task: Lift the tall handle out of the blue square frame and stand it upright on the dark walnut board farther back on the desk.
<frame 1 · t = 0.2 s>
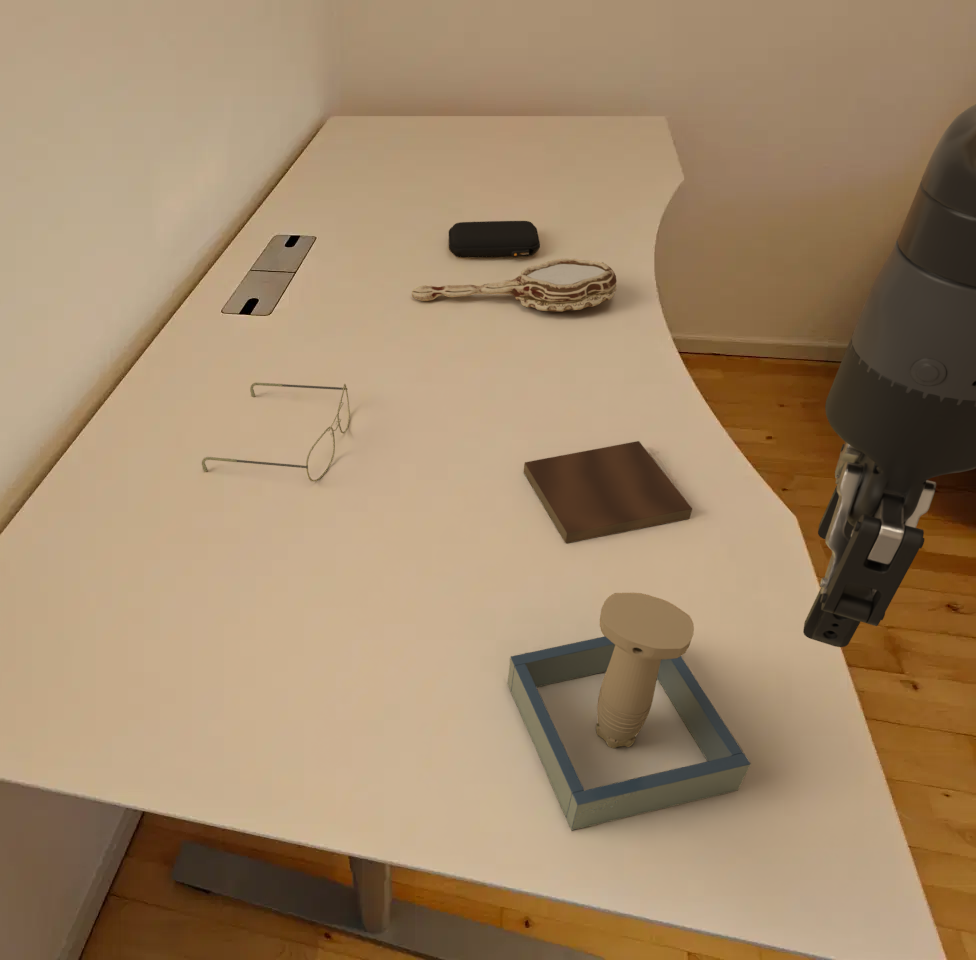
hand: (830, 585, 49), 26 cm above the table, tool pointing down, fingers open, 8 cm apart
handle: (615, 735, 71), resting in blue square frame
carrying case: (492, 250, 140), on the table
hand mirror: (510, 302, 127), on the table
board: (603, 494, 93), on the table
blue square frame: (615, 733, 71), on the table
eyeglasses: (283, 440, 104), on the table
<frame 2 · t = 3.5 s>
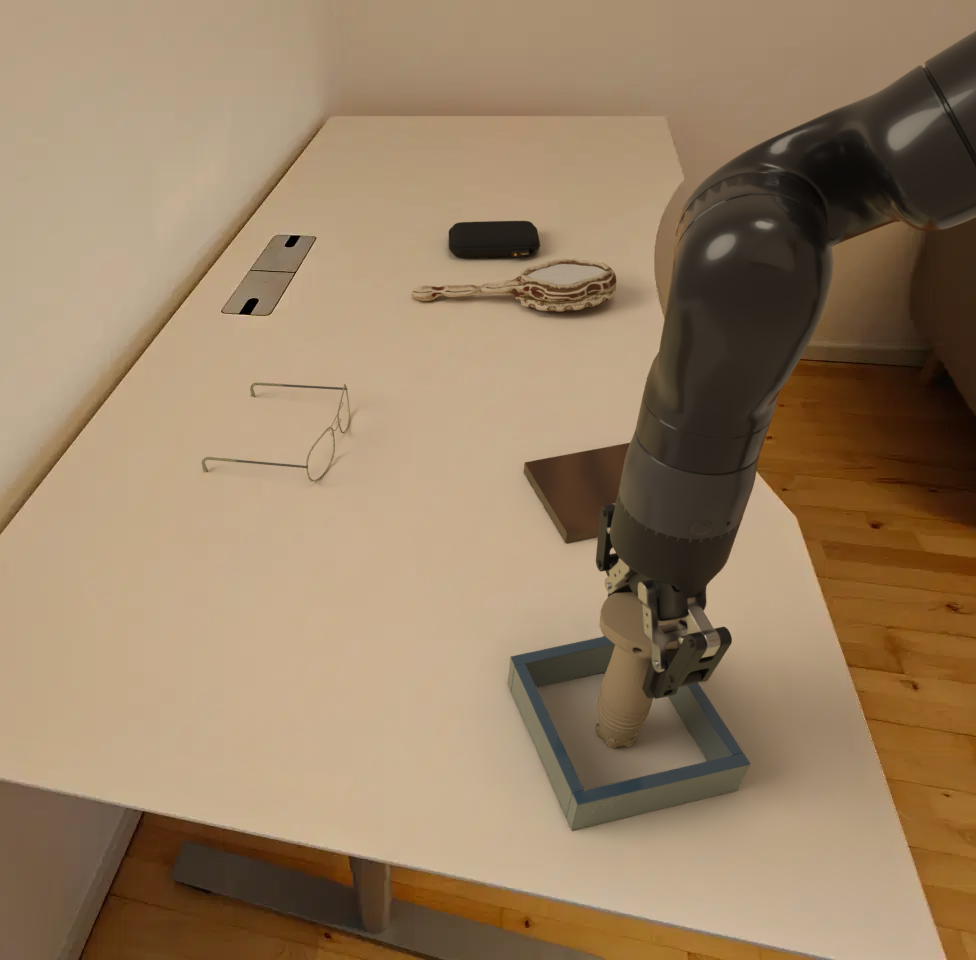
hand: (636, 656, 64), 11 cm above the table, tool pointing down, fingers closed on handle, 6 cm apart
handle: (615, 735, 71), resting in blue square frame, touching gripper
everything else where it was.
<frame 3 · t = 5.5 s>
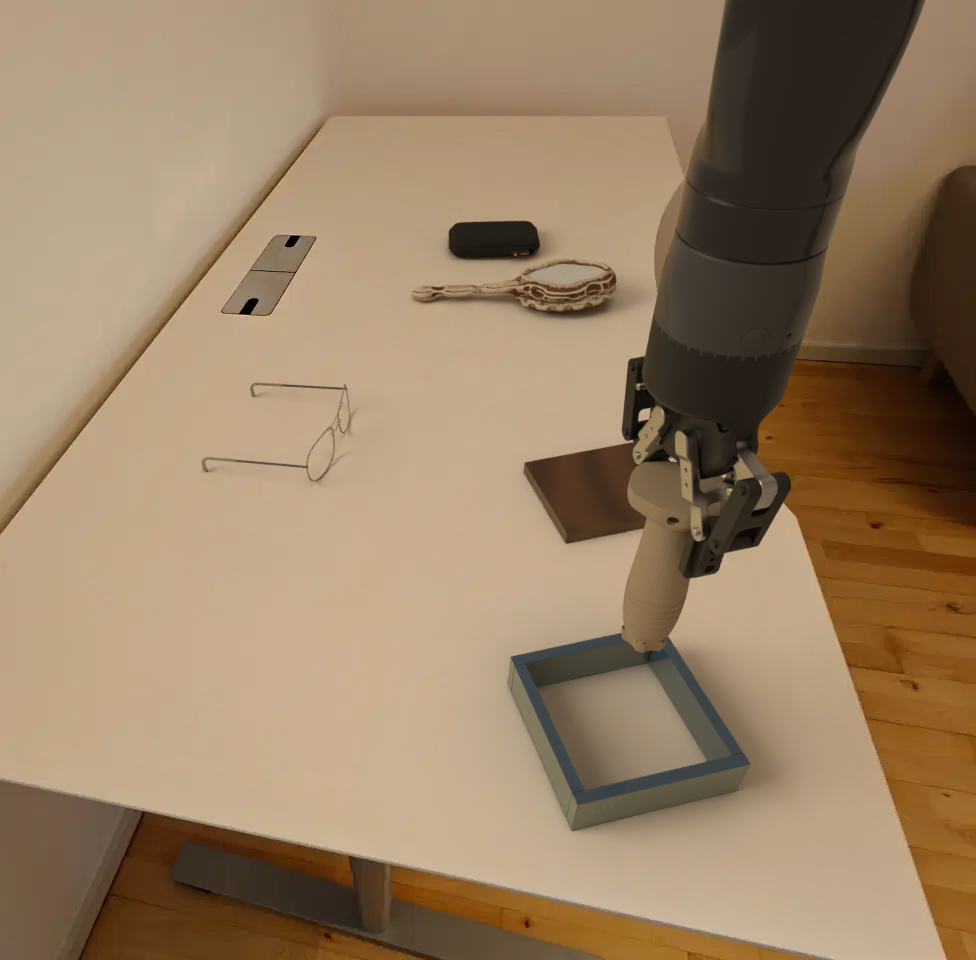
hand: (669, 537, 55), 23 cm above the table, tool pointing down, fingers closed on handle, 6 cm apart
handle: (642, 640, 62), point 13 cm above the table, touching gripper
everything else where it was.
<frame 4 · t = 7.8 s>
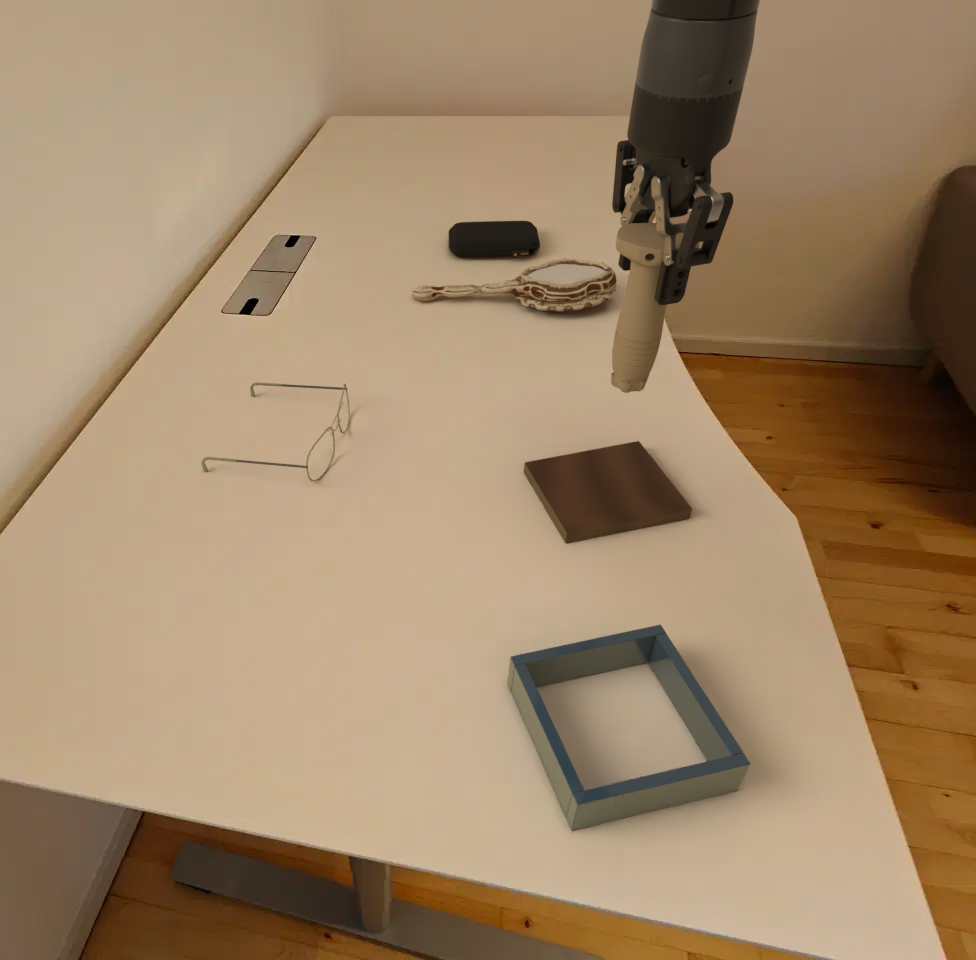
hand: (648, 283, 72), 28 cm above the table, tool pointing down, fingers closed on handle, 6 cm apart
handle: (627, 386, 80), point 17 cm above the table, touching gripper
everything else where it was.
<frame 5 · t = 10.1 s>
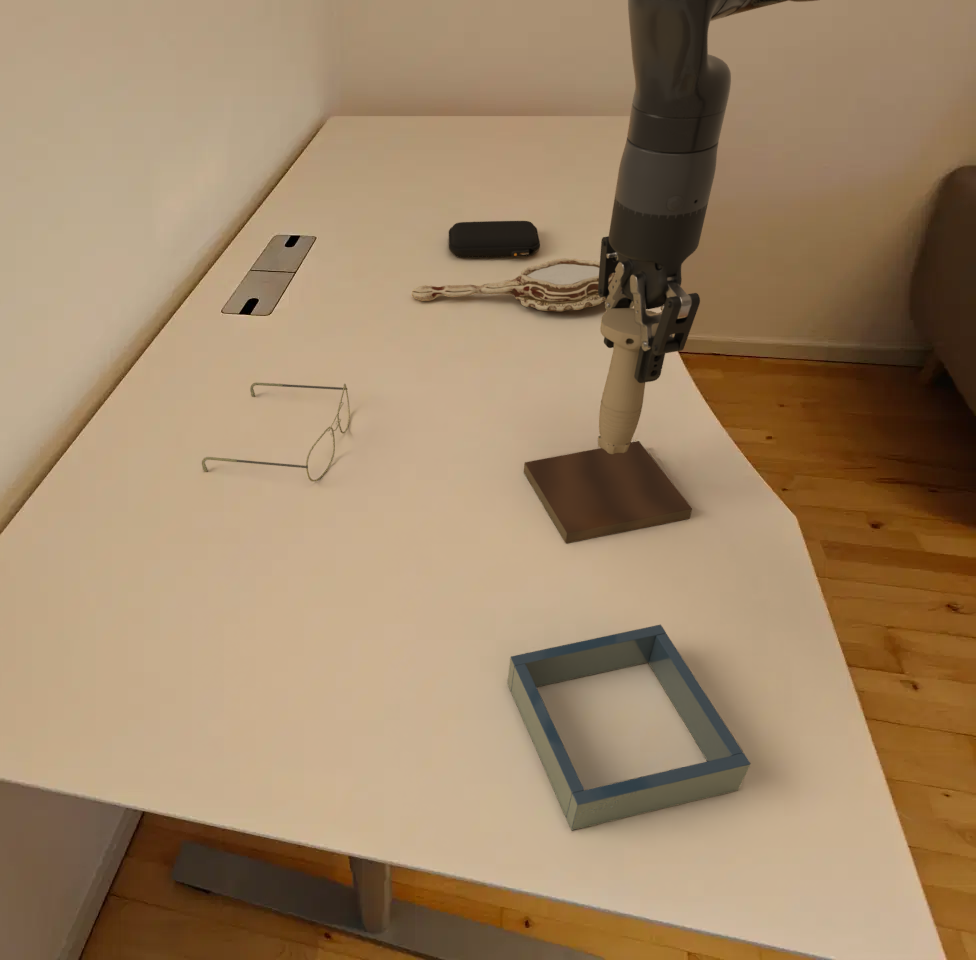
hand: (629, 361, 81), 18 cm above the table, tool pointing down, fingers closed on handle, 6 cm apart
handle: (613, 447, 88), point 7 cm above the table, touching gripper
everything else where it was.
when the fingers open (12 cm above the table, at t = 11.9 s): handle stays where it is, resting on board.
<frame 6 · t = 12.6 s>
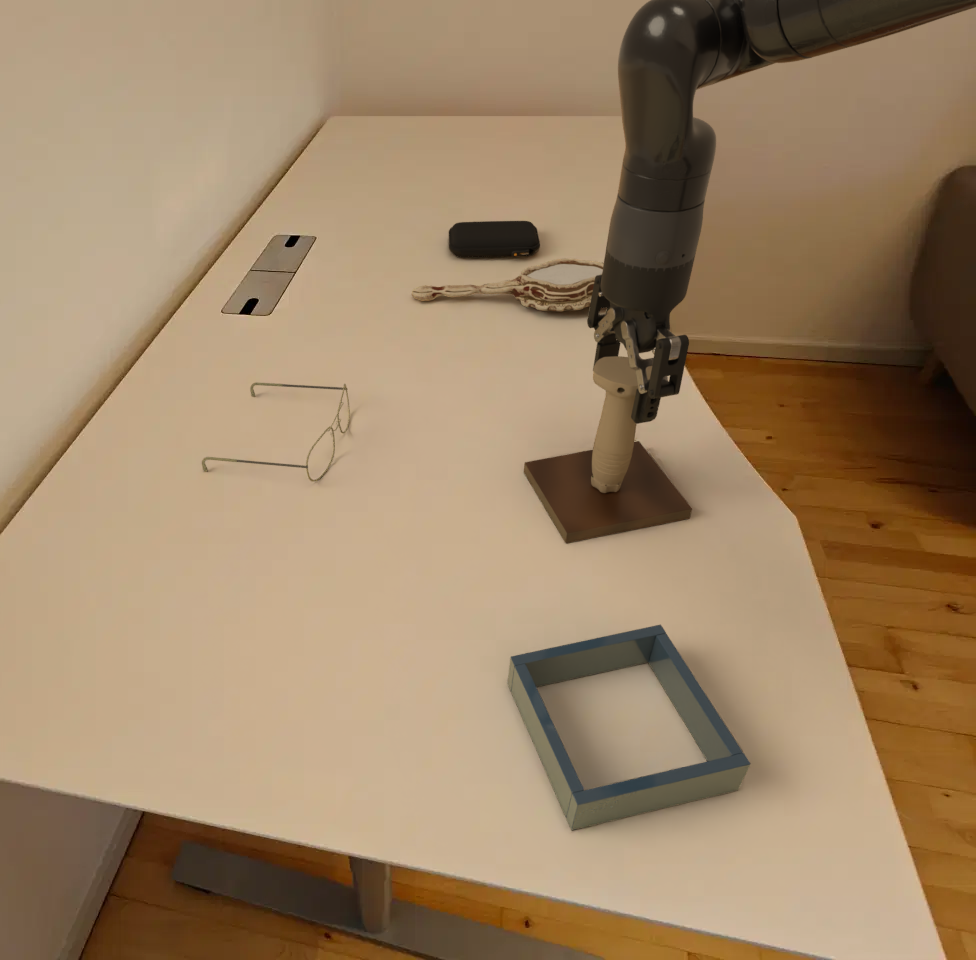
hand: (622, 396, 84), 13 cm above the table, tool pointing down, fingers open, 8 cm apart
handle: (605, 486, 92), point 1 cm above the table, touching board
everything else where it was.
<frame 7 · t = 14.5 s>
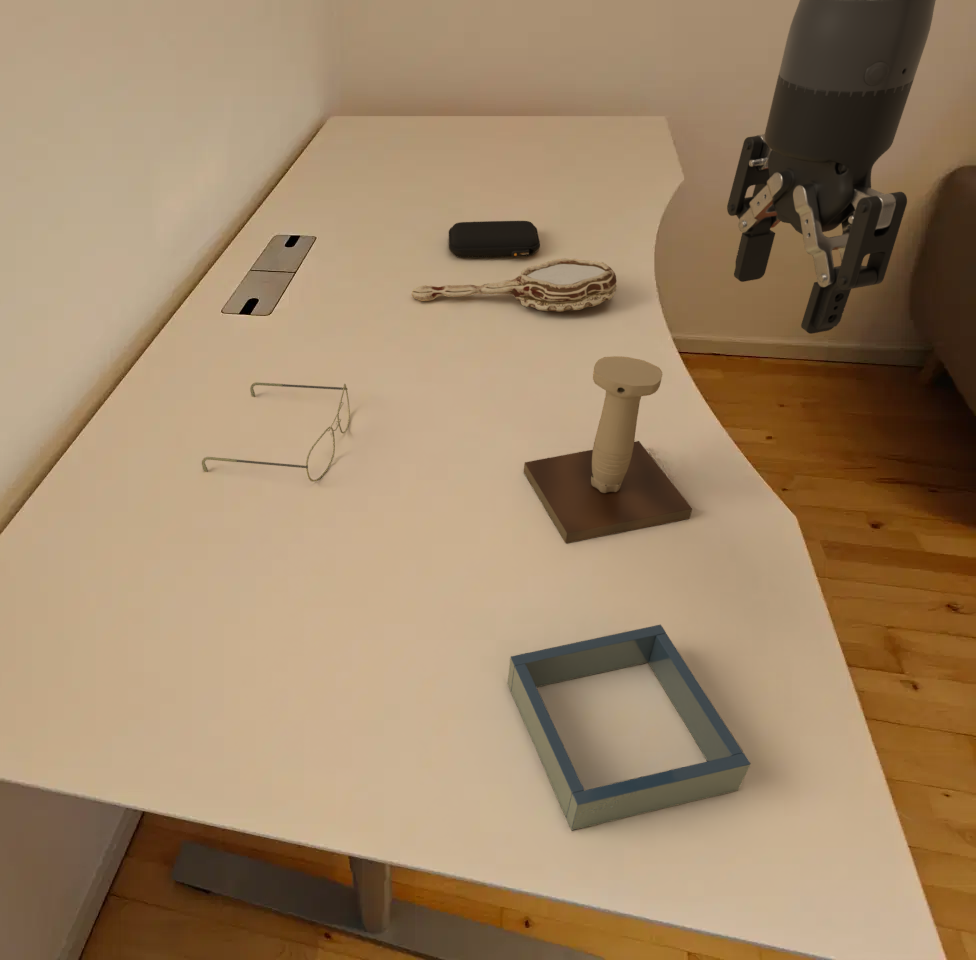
hand: (780, 302, 63), 31 cm above the table, tool pointing down, fingers open, 8 cm apart
nothing on the table moved.
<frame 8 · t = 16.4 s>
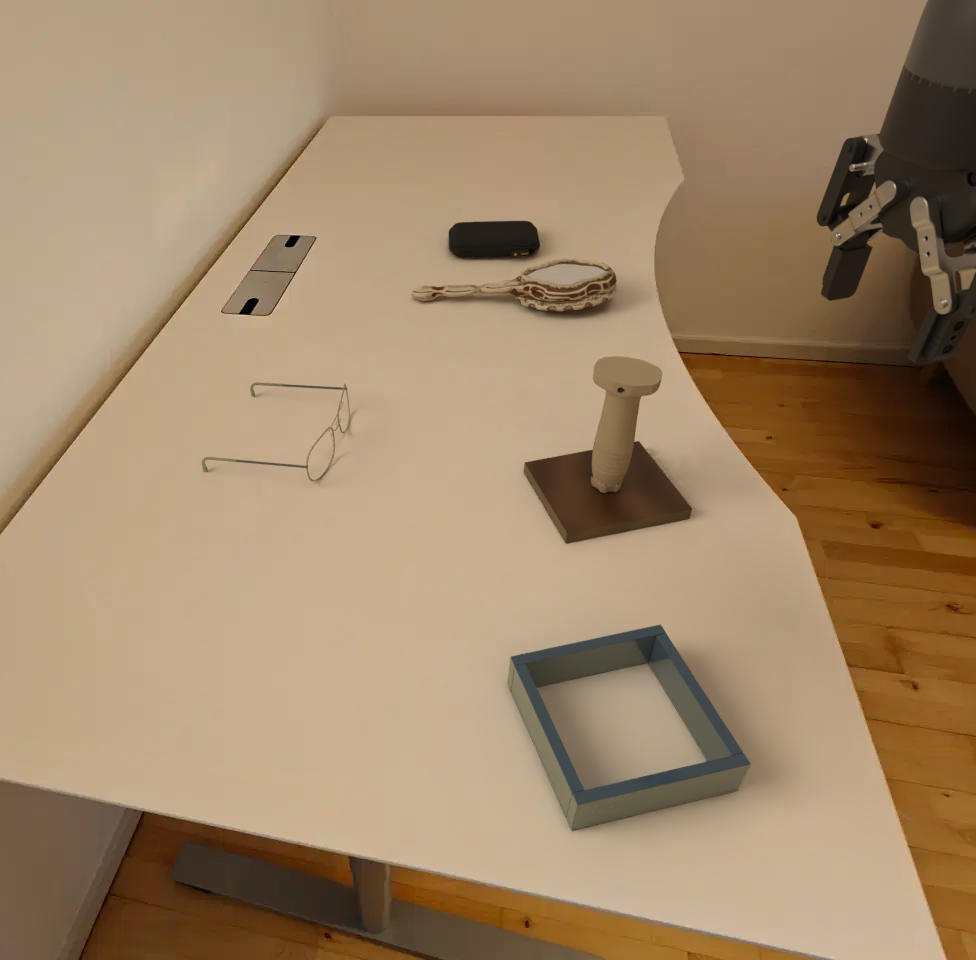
hand: (878, 326, 55), 33 cm above the table, tool pointing down, fingers open, 8 cm apart
nothing on the table moved.
at the end: handle inside the target area on the board (0.2 cm from its centre), point 1.3 cm above the board's base; handle tilted 0°; the gripper is holding nothing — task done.
